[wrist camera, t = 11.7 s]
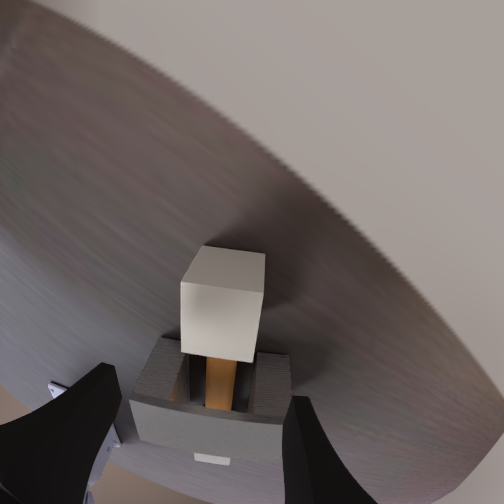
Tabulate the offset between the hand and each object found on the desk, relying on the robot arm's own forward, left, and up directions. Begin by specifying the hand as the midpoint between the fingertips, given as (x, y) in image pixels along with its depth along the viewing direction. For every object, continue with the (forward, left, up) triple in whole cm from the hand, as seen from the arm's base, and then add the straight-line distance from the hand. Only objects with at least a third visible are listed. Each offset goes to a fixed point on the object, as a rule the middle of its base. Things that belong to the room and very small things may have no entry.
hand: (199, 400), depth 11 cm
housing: (-9, 0, -10) cm, 13 cm away
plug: (-7, 0, -10) cm, 12 cm away
